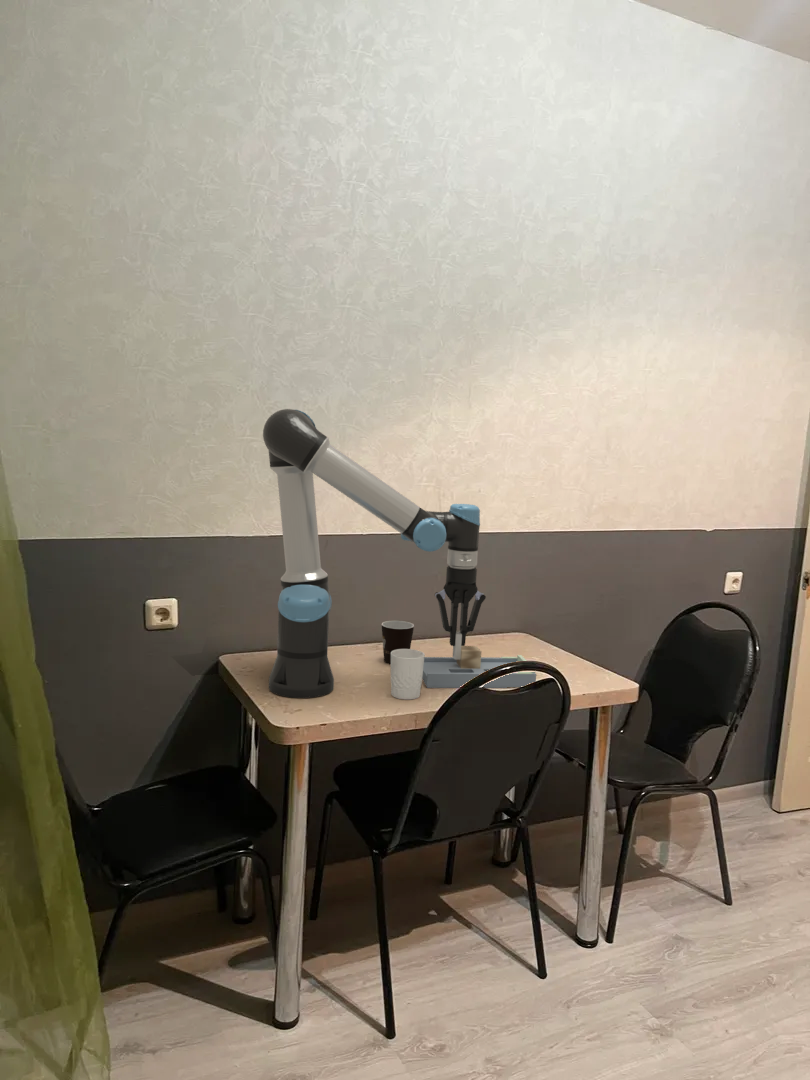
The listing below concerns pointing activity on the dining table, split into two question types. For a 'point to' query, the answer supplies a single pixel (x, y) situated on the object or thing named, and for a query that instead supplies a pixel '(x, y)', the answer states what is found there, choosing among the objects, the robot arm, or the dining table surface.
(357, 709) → the dining table surface
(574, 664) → the dining table surface
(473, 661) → the block
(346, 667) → the dining table surface
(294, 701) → the dining table surface
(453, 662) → the box
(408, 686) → the white cup
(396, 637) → the coffee mug
